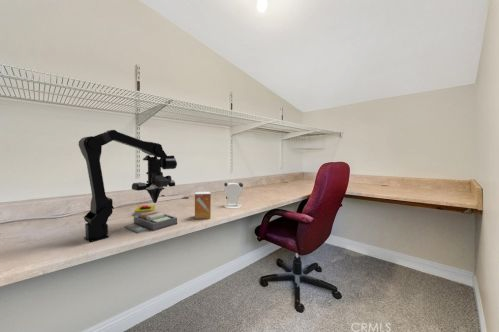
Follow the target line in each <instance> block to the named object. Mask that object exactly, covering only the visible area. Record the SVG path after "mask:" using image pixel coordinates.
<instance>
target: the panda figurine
mask: <svg viewBox="0 0 499 332" xmlns="http://www.w3.org/2000/svg"><path fill="white" fill-rule="evenodd" d="M243 187H244V184H243V183H242V182H239V183H235V182H229V183H227V182H224V191H223V192H224V194H225V199H226V204H224V205H223V208H225V209H240V208H242V206H243V205H241V204H239V198H240V197H241V196H242V195H243Z"/></svg>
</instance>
